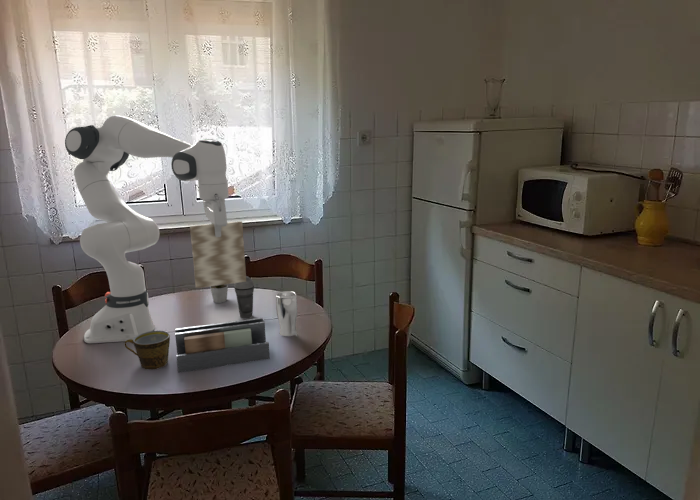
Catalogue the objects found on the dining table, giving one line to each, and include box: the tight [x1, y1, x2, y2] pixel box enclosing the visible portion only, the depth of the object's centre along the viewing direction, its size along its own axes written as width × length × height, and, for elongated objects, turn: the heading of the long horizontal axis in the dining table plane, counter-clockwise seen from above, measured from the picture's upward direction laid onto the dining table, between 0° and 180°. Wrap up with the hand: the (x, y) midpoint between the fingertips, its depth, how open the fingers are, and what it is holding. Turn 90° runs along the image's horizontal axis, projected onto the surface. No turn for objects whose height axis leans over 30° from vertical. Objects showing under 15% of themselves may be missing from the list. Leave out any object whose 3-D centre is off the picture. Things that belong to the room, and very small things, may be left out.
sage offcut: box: [224, 328, 252, 348], centre depth 156 cm, size 9×2×8 cm, turn 108°
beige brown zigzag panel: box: [189, 220, 247, 289], centre depth 167 cm, size 16×2×20 cm, turn 113°
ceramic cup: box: [124, 330, 171, 371], centre depth 152 cm, size 13×10×10 cm
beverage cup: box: [233, 275, 255, 320], centre depth 191 cm, size 7×7×20 cm
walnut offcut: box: [184, 332, 225, 354], centre depth 151 cm, size 11×2×9 cm, turn 108°
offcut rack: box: [174, 317, 271, 373], centre depth 155 cm, size 26×11×10 cm, turn 108°
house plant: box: [209, 284, 229, 304], centre depth 208 cm, size 14×14×16 cm
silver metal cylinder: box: [275, 290, 298, 338], centre depth 172 cm, size 7×7×15 cm
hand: (217, 235), depth 165 cm, fingers closed on beige brown zigzag panel, 1 cm apart
